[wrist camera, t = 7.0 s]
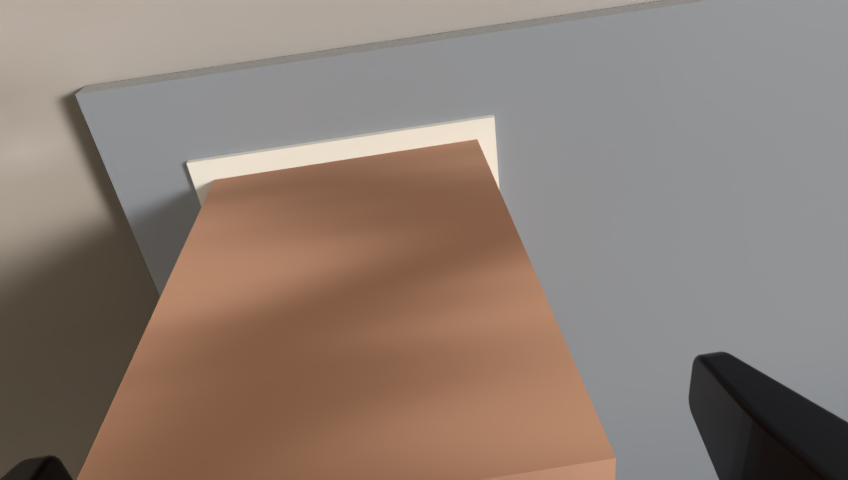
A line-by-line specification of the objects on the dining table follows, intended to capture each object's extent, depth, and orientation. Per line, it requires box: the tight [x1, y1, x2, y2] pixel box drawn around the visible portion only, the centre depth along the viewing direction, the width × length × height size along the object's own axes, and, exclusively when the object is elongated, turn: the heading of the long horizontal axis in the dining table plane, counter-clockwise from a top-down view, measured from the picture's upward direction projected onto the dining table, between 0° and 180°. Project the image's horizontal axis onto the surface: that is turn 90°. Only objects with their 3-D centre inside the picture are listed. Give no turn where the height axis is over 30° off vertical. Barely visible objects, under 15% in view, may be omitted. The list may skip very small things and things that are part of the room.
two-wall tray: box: [75, 0, 848, 480], centre depth 11 cm, size 12×18×3 cm, turn 97°
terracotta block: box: [77, 139, 616, 480], centre depth 8 cm, size 4×6×6 cm, turn 7°
